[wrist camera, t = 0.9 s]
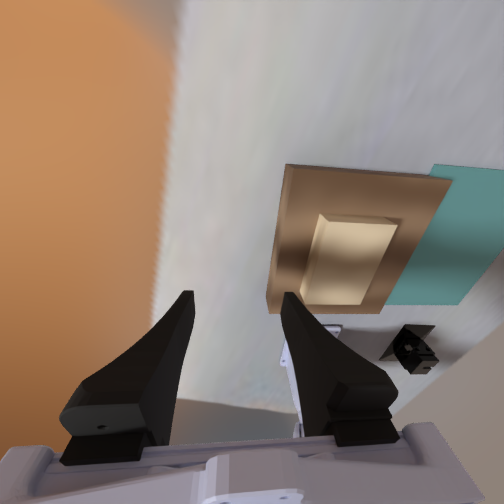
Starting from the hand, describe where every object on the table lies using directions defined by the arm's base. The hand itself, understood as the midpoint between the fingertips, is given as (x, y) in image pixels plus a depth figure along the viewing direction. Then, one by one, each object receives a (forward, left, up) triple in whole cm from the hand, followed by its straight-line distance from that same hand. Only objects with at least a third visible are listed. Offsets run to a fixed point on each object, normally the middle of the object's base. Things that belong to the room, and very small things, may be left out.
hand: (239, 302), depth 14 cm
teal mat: (0, -26, -9) cm, 27 cm away
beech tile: (0, -10, -6) cm, 12 cm away
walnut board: (0, -11, -9) cm, 14 cm away
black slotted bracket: (-18, -29, -10) cm, 36 cm away
